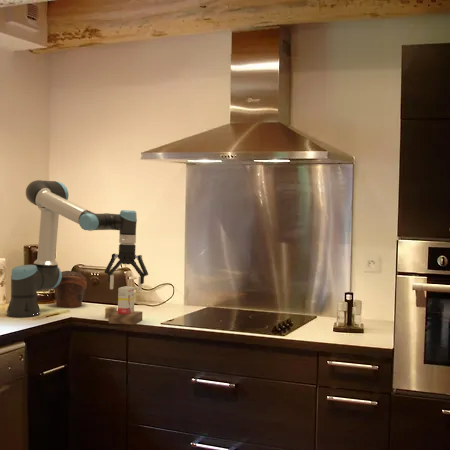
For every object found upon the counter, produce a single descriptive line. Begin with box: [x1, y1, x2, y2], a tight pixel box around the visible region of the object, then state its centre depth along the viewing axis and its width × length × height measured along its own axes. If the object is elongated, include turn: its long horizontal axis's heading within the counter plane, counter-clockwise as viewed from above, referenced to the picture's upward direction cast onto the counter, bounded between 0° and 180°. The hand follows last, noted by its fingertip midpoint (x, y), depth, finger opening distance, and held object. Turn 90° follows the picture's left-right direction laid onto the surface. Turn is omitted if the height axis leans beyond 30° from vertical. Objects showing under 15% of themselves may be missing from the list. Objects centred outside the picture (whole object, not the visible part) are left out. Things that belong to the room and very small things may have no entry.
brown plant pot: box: [53, 270, 88, 309], centre depth 329 cm, size 18×20×18 cm
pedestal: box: [108, 310, 144, 326], centre depth 288 cm, size 12×12×4 cm
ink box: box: [117, 285, 136, 314], centre depth 288 cm, size 9×5×12 cm, turn 165°
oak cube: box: [104, 306, 118, 320], centre depth 298 cm, size 5×5×5 cm
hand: (125, 290), depth 288 cm, fingers open, 13 cm apart
